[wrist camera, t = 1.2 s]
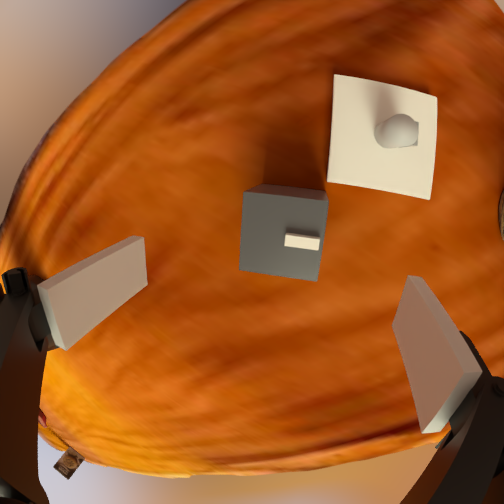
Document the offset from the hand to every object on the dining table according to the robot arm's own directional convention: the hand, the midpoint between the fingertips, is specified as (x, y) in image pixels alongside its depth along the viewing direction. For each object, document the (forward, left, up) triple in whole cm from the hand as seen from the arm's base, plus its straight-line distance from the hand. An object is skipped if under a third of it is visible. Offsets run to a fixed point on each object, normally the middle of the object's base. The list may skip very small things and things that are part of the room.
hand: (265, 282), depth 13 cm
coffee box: (-80, -115, -15) cm, 141 cm away
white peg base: (+8, +9, -15) cm, 19 cm away
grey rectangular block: (0, 0, -15) cm, 15 cm away
